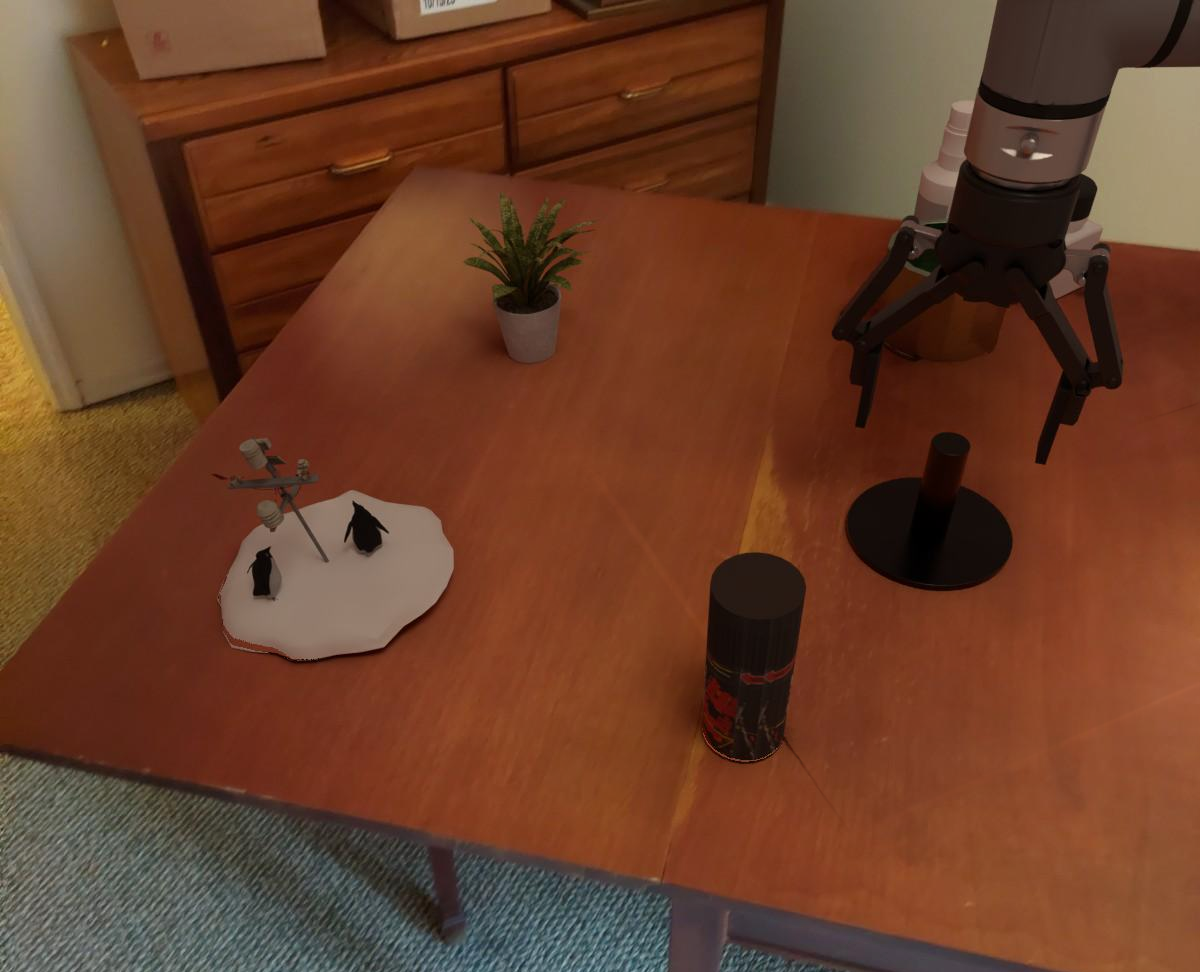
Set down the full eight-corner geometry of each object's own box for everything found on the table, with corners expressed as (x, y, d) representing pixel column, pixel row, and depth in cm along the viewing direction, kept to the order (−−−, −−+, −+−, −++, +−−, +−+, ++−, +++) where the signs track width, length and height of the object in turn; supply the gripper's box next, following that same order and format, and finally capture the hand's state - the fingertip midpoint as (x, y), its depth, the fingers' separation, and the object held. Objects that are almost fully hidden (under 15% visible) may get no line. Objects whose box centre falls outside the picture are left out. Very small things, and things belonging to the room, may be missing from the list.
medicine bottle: (1085, 286, 118) (1120, 181, 109) (1042, 307, 115) (1074, 200, 106) (1033, 261, 122) (1063, 157, 113) (990, 280, 119) (1018, 175, 111)
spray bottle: (919, 247, 125) (950, 88, 112) (974, 263, 122) (1013, 101, 109) (894, 272, 121) (923, 111, 108) (951, 289, 118) (988, 125, 105)
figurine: (447, 486, 95) (398, 332, 83) (464, 636, 83) (410, 481, 71) (228, 533, 95) (148, 385, 83) (213, 691, 83) (116, 544, 71)
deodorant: (794, 756, 75) (818, 612, 64) (712, 769, 75) (723, 626, 64) (771, 692, 79) (790, 546, 69) (693, 704, 79) (700, 559, 68)
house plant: (571, 406, 105) (561, 253, 93) (444, 383, 109) (419, 233, 97) (616, 330, 114) (612, 183, 103) (497, 312, 118) (481, 167, 106)
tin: (1022, 346, 110) (1047, 262, 103) (921, 378, 107) (940, 293, 100) (947, 290, 118) (966, 208, 111) (851, 318, 115) (864, 235, 108)
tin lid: (1044, 564, 88) (1080, 468, 80) (906, 616, 84) (931, 520, 77) (943, 470, 97) (967, 376, 89) (814, 514, 93) (829, 419, 86)
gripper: (814, 163, 68) (781, 430, 83) (1239, 221, 61) (1118, 500, 77) (839, 118, 73) (804, 378, 88) (1236, 167, 66) (1123, 439, 82)
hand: (950, 435), depth 83 cm, fingers open, 13 cm apart
